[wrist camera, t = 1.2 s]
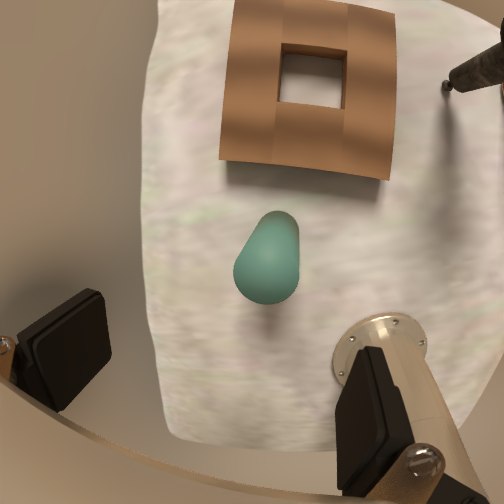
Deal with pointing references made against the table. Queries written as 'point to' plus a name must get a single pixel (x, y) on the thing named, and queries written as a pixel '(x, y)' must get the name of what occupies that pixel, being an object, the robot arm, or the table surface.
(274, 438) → the table surface
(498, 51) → the microphone
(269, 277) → the peg
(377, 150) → the socket board
